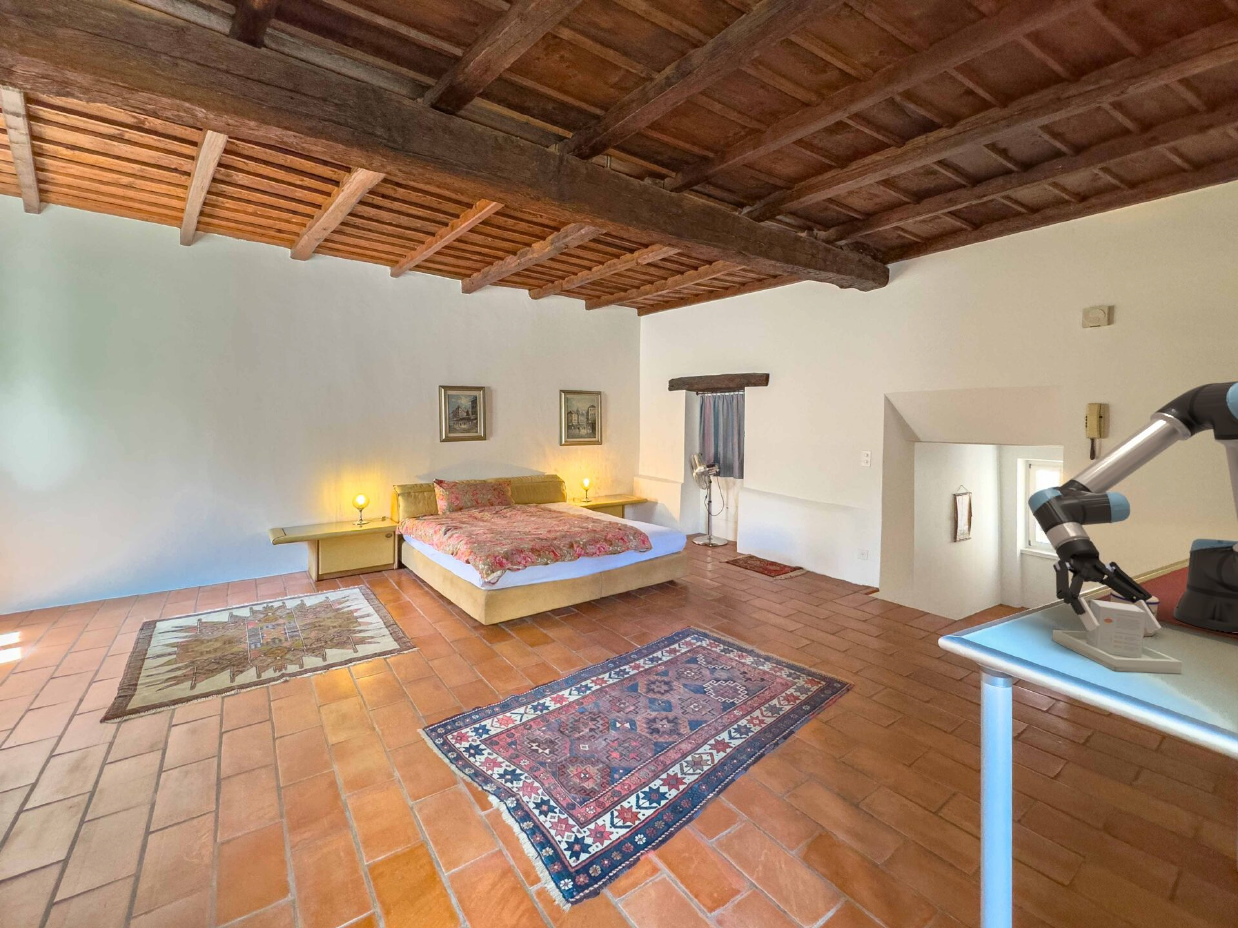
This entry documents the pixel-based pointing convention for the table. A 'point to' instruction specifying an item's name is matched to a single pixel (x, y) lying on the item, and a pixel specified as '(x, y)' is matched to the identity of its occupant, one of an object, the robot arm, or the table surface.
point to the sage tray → (1146, 663)
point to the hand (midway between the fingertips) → (1124, 629)
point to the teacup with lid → (1118, 598)
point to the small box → (1117, 628)
